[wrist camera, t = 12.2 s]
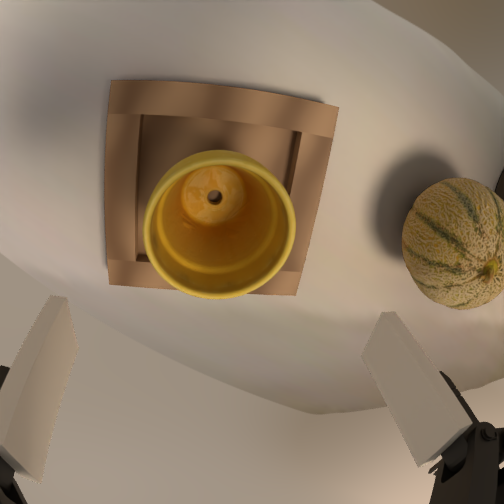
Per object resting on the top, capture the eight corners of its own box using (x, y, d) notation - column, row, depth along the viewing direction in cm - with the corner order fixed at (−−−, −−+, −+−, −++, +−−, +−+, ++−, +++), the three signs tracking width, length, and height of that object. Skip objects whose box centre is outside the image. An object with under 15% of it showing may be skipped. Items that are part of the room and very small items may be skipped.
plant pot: (279, 225, 31) (308, 277, 23) (181, 255, 31) (174, 316, 22) (254, 125, 26) (278, 137, 18) (144, 159, 26) (116, 188, 17)
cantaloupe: (459, 251, 39) (525, 307, 26) (381, 281, 39) (442, 359, 26) (464, 155, 32) (552, 194, 19) (375, 175, 32) (468, 230, 18)
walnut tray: (326, 106, 27) (339, 107, 25) (289, 280, 36) (295, 295, 34) (120, 82, 23) (111, 80, 21) (115, 269, 32) (109, 284, 30)
